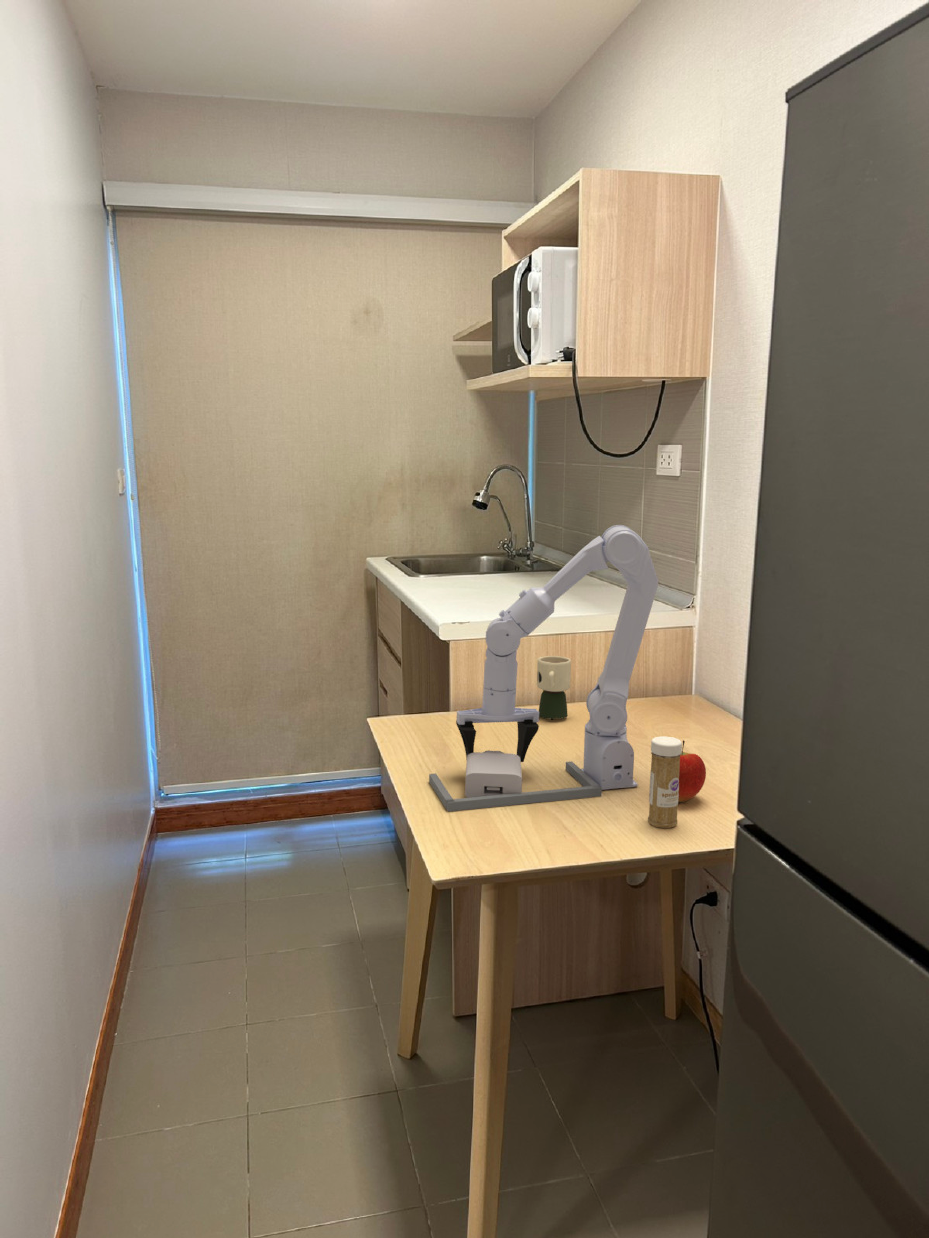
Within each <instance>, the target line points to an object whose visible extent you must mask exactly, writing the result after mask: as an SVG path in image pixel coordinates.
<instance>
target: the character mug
mask: <svg viewBox="0 0 929 1238" xmlns="http://www.w3.org/2000/svg"><path fill="white" fill-rule="evenodd" d="M571 668H572V660H571V658H569V657H566V656H560V655H545V656H540V657H538V658H537V672H536V686H537V688H538V689H540V690H542V693H541V695H540V700H539V707H538V711H539V718H542V719H550V720H551V721H554V719H566V718H567V717H568V704H567V694H566V693H565V691H568V690H569V689H571V675H572V674H571V670H572V669H571Z"/></svg>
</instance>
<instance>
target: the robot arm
mask: <svg viewBox="0 0 929 1238" xmlns="http://www.w3.org/2000/svg"><path fill="white" fill-rule="evenodd" d="M647 545H648V544H646V543H645V542H644V540H643V538H642V537H641V536H640V535H639V534H638V533H637V532H635V531H634V530H632V529H631V528H630V527H628V526H626V525H622V524H616V525H615V524H614V525H612V526H610V527H609V528H607V529H606V530H605V531H604V532H603V534H602V535H598V536H597V537H595V538H593V539H592V540H591V541H590V542H589V543H588V544H587V545H586V544H585V546H583V548H582V549H580V550H579V551H578V552H577V553H576V554H575V555H574V556H573V557H572V558H571V559H570V560H569V561H568V562H567V563H566V564H565V565H564V566H562V568H561V569H559V570H558V572H557V573H556V574H555V575H554V576H553V577H552V578H550V579H549V580H548V581H547V583H545V585H543V586H541V587H538V586H537V587H530V588H529V589H528V590H526V589H522V590H521V591H520V592H519V595H518V596H519V598H518V599H517V600H516V601H515V602H514V603H512V604H511V605H510V606H509V607H508V608H507V609H506V610H504V609H501V611H500V612H498V615H499V617H496V618H495V619H493V620H492V621H490V623H489V625H488V626H487V628H486V631H485V643H486V646H487V647H486V650H485V657H486V659H485V660H484V668H483V669H484V670H483V684H482V686H483V689H482V707H478V708H472V709H471V708H470V709H466V710H457V711H456V720H455V724H456V726H457V729H458V731H459V733H460V737H461V740H462V742H463V746H464V753H465V759H466V762H467V755H468V754H470V753H474V751H475V742H476V741H475V740H476V735H477V730H476V729H475V725H474V724H482V723H483V724H485V723H488V724H490V723H513V722H514V723H517V743H516V744H517V746H516V755H518V756H519V757H520V760H521V763H524V762H525V758H526V756H527V752H528V749H529V746H530V745H531V743H532V741H533V739H534V737H535V735H536V734H537V733H538V731H539V727H540V725H539V722H540V717H539V709H537V708H525V707H524V708H522V707H516V695H517V694H516V693H517V680H518V679H517V676H518V661H517V652H518V651H517V650H518V649H519V647H520V645H521V639H522V638H525V637H528V636H530V634H531V633H533V632H534V630H536V629H537V628H538V627H539V626H540V625H541V624H542V623H544V622H545V621H546V620H547V619H548V618H549V617H550V616H551V615H553V614H554V613H555V602H556V601H557V600H559V598H560V597H561V596H563V595H564V594H565V593H566V592H567V591H569V590H570V589H571V588H572V587H574V586H575V585H576V584H578V583H579V581H581V580H582V579H583V578H584V577H585V576H587V575H588V574H589V573H590V572H595V571H603V570H608V569H609V567H608V565H607V563H608V562H609V563H610V564H611V565H612V566H613V567H614V568H615V569H617V570H618V571H619V573H620V574H621V576H622V578H623V579H624V581H625V582H626V584H627V585H626V589H625V593H624V598H623V601H622V605H621V608H620V611H619V614H618V616H617V617H618V618H617V621H616V624H615V628H614V631H613V635H612V639H611V641H610V644H609V645H610V646H609V648H608V652H607V655H606V659H605V662H604V666H603V668H602V669H603V670H602V671H601V674H600V675H599V677H598V678H597V679H598V680H597V682H596V685H595V687H594V688H592V690H591V691H589V693H588V695H587V697H586V704H585V705H586V708H587V709H586V710H587V711H588V713H589V720H588V721H587V722H586V723H585V725H584V743H583V745H584V747H583V768H580V769H581V770H582V771H583V772H584V773H586V774H587V775H588V776H589V777H590V778H591V779H592V780H593V781H595V782H596V783H597V784H598V785H599V786H600V787H601V788H602V791H604V790H614V789H623V788H624V789H625V788H633V787H634V788H635V787H638V785H639V784H638V782H637V781H635V780H634V767H635V766H634V763H635V750H634V748H633V746H632V744H631V743H630V742H629V741H628V737H627V736H628V735H627V734H628V733H627V730H628V727H627V725H626V724H627V723H628V711H627V702H628V699H629V690H630V689H629V687H630V680H631V678H632V675H633V670H634V668H635V664H636V661H637V657H638V654H639V650H640V648H641V643H642V639H643V637H644V633H645V630H646V627H647V623H648V620H649V618H650V614H651V612H652V611H651V610H652V607H653V605H654V604H653V602H654V600H655V597H656V593H657V590H658V586H659V578H658V575H657V573H656V569H655V566H654V562H653V560H652V559H653V558H652V556H651V552H650V548H649V547H648V546H647Z"/></svg>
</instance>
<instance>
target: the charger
mask: <svg viewBox="0 0 929 1238" xmlns="http://www.w3.org/2000/svg"><path fill="white" fill-rule="evenodd" d="M465 766H466V768H465V782H464V783H465V784H464V785H465V788H464V789H465V790H464V797H465V798H471V797H481V796H492V795H502V794H512V793H523V792H522V789H523V787H522V786H523V775H522V773H523V772H522V762H521V760H520V757H519V756H518V755H517V753H505V752H503V751H501V750H490V749H489V750H484V751H482V752H481V751H479V752H474V753H470V754H468V755H467V761H466V765H465Z"/></svg>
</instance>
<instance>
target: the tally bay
mask: <svg viewBox="0 0 929 1238" xmlns="http://www.w3.org/2000/svg"><path fill="white" fill-rule="evenodd" d="M581 769H582V768H580V767H579V766H578V765H577V764H575V762H574V761H566V762H565V771H566V772H567V773H568V774H570V776H572V777H573V779H575V780H576V781H577V782H578V783H579V784H580V785H581V786H576V787H565V788H557V789H556V788H555V789H547V790H546V789H545V790H533V791H524V792H522V793H512V794H502V795H492V796H481V797H471V798H467V797H464V798H463V797H462V798H453V797H452V795H451V794H450V793H449V791H448V789H447V788H446V787H445V785H444V783H443V781H442V780H441V778H440V777H439V776H438V774H437V773H436V772H435V773H428V781H429V785H430V786H431V788H432V789H433V791H434V792H435V794H436V795H437V797H438V799H439V800H440V803H442V805H443V807H444V808H445V810H446V811H447V812H457V811H468V810H477V809H486V808H489V809H490V808H496V807H505V806H507V807H508V806H518V805H519V806H520V805H527V804H529V805H530V804H536V803H538V804H539V803H547V802H556V801H557V802H558V801H566V800H569V801H570V800H577V799H588V798H595V797H597V798H598V797H602V791H603V790H602V788H601V787H600V786H599V785H598V784H597V783H596V782H595V781H593V780H592V779H591V778H590V777H589V776H588V775H587V774H586V773H584V772H583V771H582V770H581Z"/></svg>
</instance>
